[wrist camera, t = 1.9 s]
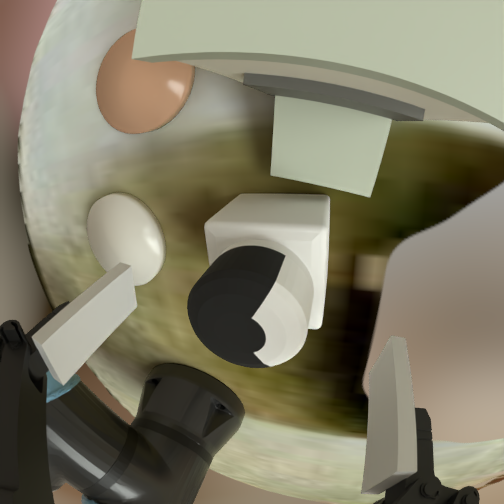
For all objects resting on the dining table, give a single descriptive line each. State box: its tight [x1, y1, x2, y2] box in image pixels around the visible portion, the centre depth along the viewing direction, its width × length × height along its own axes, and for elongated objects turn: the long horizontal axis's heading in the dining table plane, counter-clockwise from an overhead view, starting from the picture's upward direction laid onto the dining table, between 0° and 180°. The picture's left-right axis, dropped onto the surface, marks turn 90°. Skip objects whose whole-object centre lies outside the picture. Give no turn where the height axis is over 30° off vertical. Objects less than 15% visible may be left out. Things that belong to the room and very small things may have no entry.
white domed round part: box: [87, 192, 166, 286], centre depth 28 cm, size 10×10×1 cm
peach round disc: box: [96, 29, 195, 134], centre depth 20 cm, size 10×10×1 cm
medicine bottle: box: [187, 194, 330, 368], centre depth 18 cm, size 7×7×12 cm
